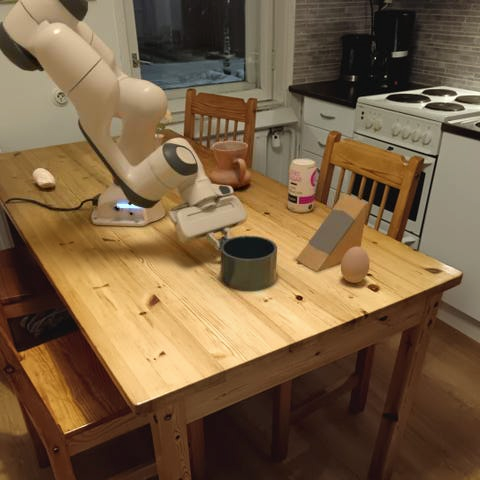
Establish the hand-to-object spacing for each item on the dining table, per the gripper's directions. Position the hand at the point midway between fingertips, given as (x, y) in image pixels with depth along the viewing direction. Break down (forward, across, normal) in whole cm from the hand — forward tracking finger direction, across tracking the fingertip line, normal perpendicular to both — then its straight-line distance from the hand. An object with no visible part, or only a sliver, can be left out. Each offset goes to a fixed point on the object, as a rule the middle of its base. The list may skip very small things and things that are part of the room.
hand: (224, 247), depth 127 cm
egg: (+23, +18, -16) cm, 33 cm away
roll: (-57, -13, +64) cm, 86 cm away
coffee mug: (+8, 0, -2) cm, 9 cm away
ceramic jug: (-29, +39, +35) cm, 60 cm away
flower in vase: (-49, +28, +55) cm, 79 cm away
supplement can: (-7, +42, +13) cm, 44 cm away
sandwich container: (+14, +22, -8) cm, 27 cm away
